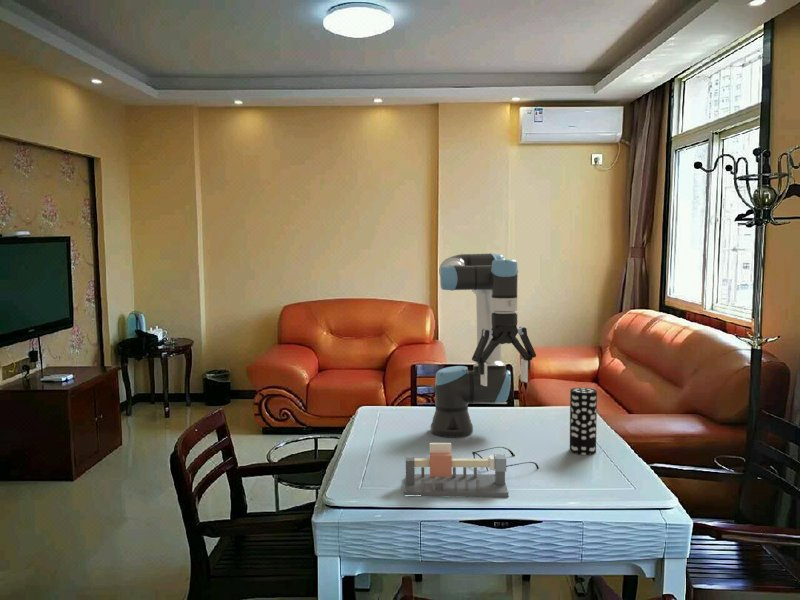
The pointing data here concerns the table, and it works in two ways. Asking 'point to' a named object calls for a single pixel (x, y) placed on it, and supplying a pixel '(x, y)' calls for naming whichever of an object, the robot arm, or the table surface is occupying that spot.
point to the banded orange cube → (440, 460)
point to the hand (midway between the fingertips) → (504, 383)
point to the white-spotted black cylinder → (583, 420)
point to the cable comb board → (454, 483)
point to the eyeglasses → (505, 448)
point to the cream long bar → (471, 462)
